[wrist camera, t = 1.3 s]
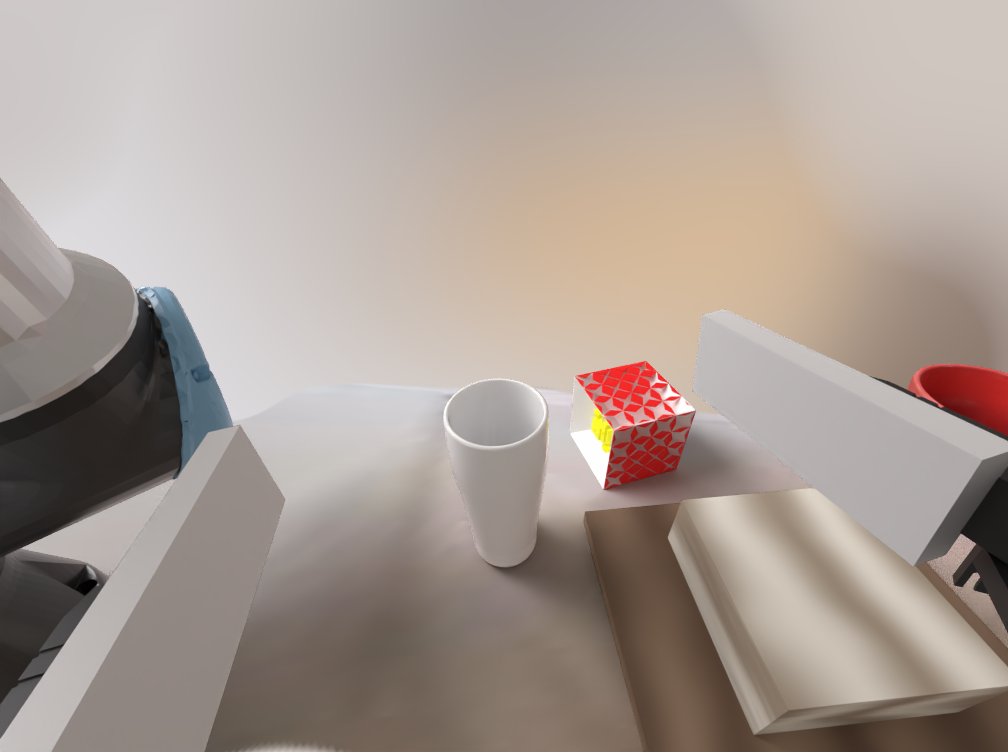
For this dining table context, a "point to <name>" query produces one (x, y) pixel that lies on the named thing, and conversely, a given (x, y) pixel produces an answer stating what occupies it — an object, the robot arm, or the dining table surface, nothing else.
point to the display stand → (790, 632)
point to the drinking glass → (499, 464)
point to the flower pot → (966, 392)
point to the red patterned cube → (629, 423)
